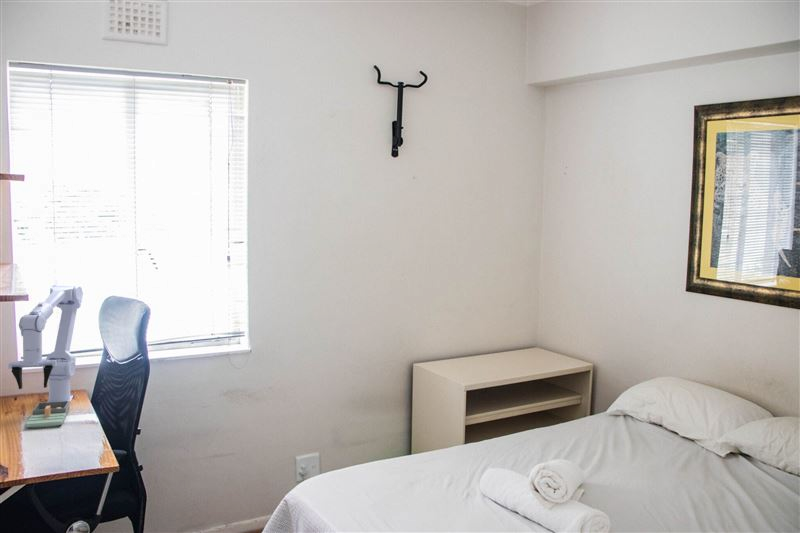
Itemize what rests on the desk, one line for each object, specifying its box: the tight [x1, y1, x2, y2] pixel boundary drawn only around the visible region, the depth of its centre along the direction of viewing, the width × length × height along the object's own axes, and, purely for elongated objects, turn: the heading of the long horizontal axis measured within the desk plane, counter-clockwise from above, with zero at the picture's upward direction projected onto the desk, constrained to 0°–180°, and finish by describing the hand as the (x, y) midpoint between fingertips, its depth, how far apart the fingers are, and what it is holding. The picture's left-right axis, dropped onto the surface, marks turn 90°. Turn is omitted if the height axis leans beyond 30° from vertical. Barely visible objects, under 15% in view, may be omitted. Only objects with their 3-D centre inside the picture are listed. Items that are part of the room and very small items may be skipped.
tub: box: [32, 401, 71, 417], centre depth 229 cm, size 10×10×3 cm
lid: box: [25, 406, 67, 429], centre depth 219 cm, size 10×10×5 cm
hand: (33, 387), depth 229 cm, fingers open, 7 cm apart
